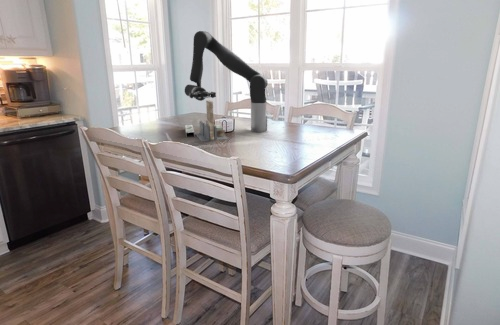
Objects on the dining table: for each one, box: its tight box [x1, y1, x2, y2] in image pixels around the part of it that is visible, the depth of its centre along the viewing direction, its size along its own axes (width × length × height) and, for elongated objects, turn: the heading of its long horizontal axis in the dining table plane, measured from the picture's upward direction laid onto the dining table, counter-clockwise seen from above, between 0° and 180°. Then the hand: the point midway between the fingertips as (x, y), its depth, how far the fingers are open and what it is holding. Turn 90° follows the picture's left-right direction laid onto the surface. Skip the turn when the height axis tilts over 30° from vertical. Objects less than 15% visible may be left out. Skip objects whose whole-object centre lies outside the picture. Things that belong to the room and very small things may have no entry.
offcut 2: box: [217, 129, 226, 134], centre depth 184 cm, size 5×10×2 cm, turn 25°
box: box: [184, 124, 196, 138], centre depth 185 cm, size 4×4×28 cm
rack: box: [193, 119, 230, 142], centre depth 180 cm, size 15×21×8 cm
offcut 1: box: [214, 123, 224, 131], centre depth 184 cm, size 5×10×2 cm, turn 18°
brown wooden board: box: [205, 99, 215, 141], centre depth 171 cm, size 2×6×20 cm, turn 21°
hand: (205, 96), depth 176 cm, fingers open, 8 cm apart
